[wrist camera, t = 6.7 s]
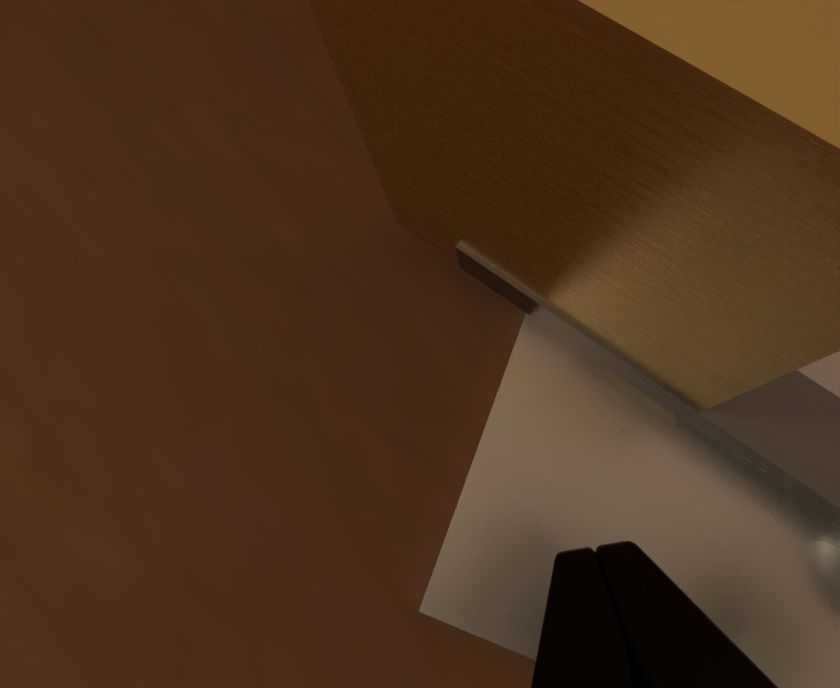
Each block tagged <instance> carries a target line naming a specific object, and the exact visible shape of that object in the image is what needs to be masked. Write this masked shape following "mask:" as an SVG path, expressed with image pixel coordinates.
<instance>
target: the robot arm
mask: <svg viewBox="0 0 840 688" xmlns="http://www.w3.org/2000/svg"><path fill="white" fill-rule="evenodd" d="M531 688H778V687H777V686H776V685H775V684H774V683H773V682H772V681H771V680H770V679H769V678H768V677H767V676H766V675H765V674H764V673H763V672H762V671H761V670H760V669H759V668H758V666H757V665H756V664H755V663H754V662H753V661H752V660H751V659H750V658H749V657H748V656H747V655H746V654H745V653H744V652H743V651H742V650H741V649H740V648H739V647H738V646H737V645H736V644H735V643H734V642H733V641H732V640H731V639H730V638H729V637H728V636H727V635H726V634H725V633H724V632H723V631H722V630H721V629H720V628H719V627H718V626H717V625H716V624H715V623H714V622H713V621H712V620H711V619H710V618H709V617H708V616H707V615H706V614H705V613H704V612H703V611H702V610H701V609H700V608H699V607H698V606H697V605H696V604H695V603H694V602H693V601H692V600H691V599H690V598H689V597H688V596H687V595H686V594H685V593H684V592H683V591H682V590H681V589H680V588H679V587H678V586H677V585H676V584H675V583H674V582H673V581H672V580H671V579H670V578H669V577H668V576H667V574H666V573H665V572H664V571H663V570H662V569H661V568H660V567H659V566H658V565H657V564H656V563H655V562H654V561H653V560H652V559H651V558H650V557H649V556H648V555H647V554H646V553H645V552H644V551H643V550H642V549H641V548H640V547H639V546H638V545H636V544H635V543H634V542H631V541H621V542H615V543H609V544H602V545H599V546H598V547H597V548H596V550H595V551H594V550H593V549H592V548H590V547H584V548H577V549H571V550H565V551H560V552H559V553H557V555H556V557H555V560H554V565H553V571H552V576H551V582H550V587H549V593H548V598H547V603H546V609H545V614H544V620H543V625H542V631H541V636H540V641H539V647H538V652H537V658H536V663H535V669H534V674H533V679H532V685H531Z"/></svg>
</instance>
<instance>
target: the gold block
mask: <svg viewBox="0 0 840 688" xmlns="http://www.w3.org/2000/svg"><path fill="white" fill-rule="evenodd" d="M308 2H309V4H310V7H311V9H312V12H313V14H314V17H315V20H316V22H317V25H318V27H319V30H320V32H321V35H322V37H323V40H324V42H325V45H326V47H327V50H328V52H329V55H330V57H331V60H332V62H333V65H334V67H335V70H336V72H337V75H338V77H339V80H340V82H341V85H342V87H343V90H344V92H345V95H346V97H347V100H348V102H349V105H350V107H351V110H352V112H353V115H354V117H355V120H356V122H357V125H358V127H359V130H360V132H361V135H362V137H363V140H364V142H365V145H366V147H367V150H368V152H369V155H370V157H371V160H372V162H373V165H374V167H375V170H376V172H377V175H378V177H379V180H380V183H381V185H382V188H383V190H384V193H385V195H386V198H387V200H388V203H389V205H390V208H391V210H392V213H393V215H394V218H395V220H396V222H397V223H399V224H400V225H402V226H403V227H404V228H406V229H407V230H409V231H410V232H412V233H413V234H415V235H416V236H418V237H419V238H420V239H422V240H423V241H425V242H426V243H428V244H429V245H431V246H432V247H434V248H435V249H436V250H438V251H439V252H441V253H442V254H444V255H445V256H447V257H448V258H450V259H451V260H452V261H454V262H455V263H457V264H458V265H459V267H460V268H462V269H463V270H465V271H466V272H467V273H469V274H470V275H472V276H473V277H475V278H476V279H478V280H479V281H481V282H482V283H483V284H485V285H486V286H488V287H489V288H491V289H492V290H494V291H495V292H497V293H498V294H499V295H501V296H502V297H504V298H505V299H507V300H508V301H510V302H511V303H513V304H514V305H515V306H517V307H518V308H520V309H521V310H523V311H524V312H526V313H527V314H529V315H530V316H531V317H533V318H534V319H536V320H537V321H539V322H540V323H542V324H543V325H545V326H546V327H547V328H549V329H550V330H552V331H553V332H555V333H556V334H558V335H559V336H561V337H562V338H563V339H565V340H566V341H568V342H569V343H571V344H572V345H574V346H575V347H577V348H578V349H579V350H581V351H582V352H584V353H585V354H587V355H588V356H590V357H591V358H593V359H594V360H595V361H597V362H598V363H600V364H601V365H603V366H604V367H606V368H607V369H609V370H610V371H611V372H613V373H614V374H616V375H617V376H619V377H620V378H622V379H623V380H625V381H626V382H627V383H629V384H630V385H632V386H633V387H635V388H636V389H638V390H639V391H641V392H642V393H643V394H645V395H646V396H648V397H649V398H651V399H652V400H654V401H655V402H657V403H658V404H659V405H661V406H662V407H664V408H665V409H667V410H668V411H670V412H671V413H673V414H674V415H675V416H677V417H678V418H680V419H681V420H683V421H684V422H686V423H687V424H689V425H690V426H691V427H693V428H694V429H696V430H697V431H699V432H700V433H702V434H703V435H705V436H706V437H707V438H709V439H710V440H712V441H713V442H715V443H716V444H718V445H719V446H721V447H722V448H723V449H725V450H726V451H728V452H729V453H731V454H732V455H734V456H735V457H737V458H738V459H739V460H741V461H742V462H744V463H745V464H747V465H748V466H750V467H751V468H753V469H754V470H755V471H757V472H758V473H760V474H761V475H763V476H764V477H766V478H767V479H769V480H770V481H771V482H773V483H774V484H776V485H777V486H779V487H780V488H782V489H783V490H785V491H786V492H787V493H789V494H790V495H792V496H793V497H795V498H796V499H798V500H799V501H801V502H802V503H803V504H805V505H806V506H808V507H809V508H811V509H812V510H814V511H815V512H817V513H818V514H819V515H821V516H822V517H824V518H825V519H827V520H828V521H830V522H831V523H833V524H834V525H835V526H837V527H838V528H840V397H838V396H836V395H835V394H833V393H832V392H830V391H829V390H827V389H826V388H824V387H822V386H821V385H819V384H818V383H816V382H815V381H813V380H812V379H810V378H809V377H807V376H805V375H804V374H802V373H801V372H799V371H798V369H800V368H802V367H804V366H807V365H809V364H811V363H813V362H816V361H818V360H820V359H823V358H825V357H827V356H829V355H832V354H834V353H836V352H839V351H840V0H308Z"/></svg>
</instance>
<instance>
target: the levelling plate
mask: <svg viewBox="0 0 840 688" xmlns="http://www.w3.org/2000/svg"><path fill="white" fill-rule="evenodd" d="M798 371H799V372H801V373H802V374H804V375H805V376H807V377H809V378H810V379H812V380H813V381H815V382H816V383H818V384H819V385H821V386H822V387H824V388H826V389H827V390H829V391H830V392H832V393H833V394H835V395H836V396H838V397H840V351H839V352H836V353H834V354H832V355H829V356H827V357H825V358H823V359H820V360H818V361H816V362H813V363H811V364H809V365H807V366H804V367H802V368H800V369H798ZM621 541H631V542H634V543H635V544H636V545H638V546H639V547H640V548H641V549H642V550H643V551H644V552H645V553H646V554H647V555H648V556H649V557H650V558H651V559H652V560H653V561H654V562H655V563H656V564H657V565H658V566H659V567H660V568H661V569H662V570H663V571H664V572H665V573H666V574H667V576H668V577H669V578H670V579H671V580H672V581H673V582H674V583H675V584H676V585H677V586H678V587H679V588H680V589H681V590H682V591H683V592H684V593H685V594H686V595H687V596H688V597H689V598H690V599H691V600H692V601H693V602H694V603H695V604H696V605H697V606H698V607H699V608H700V609H701V610H702V611H703V612H704V613H705V614H706V615H707V616H708V617H709V618H710V619H711V620H712V621H713V622H714V623H715V624H716V625H717V626H718V627H719V628H720V629H721V630H722V631H723V632H724V633H725V634H726V635H727V636H728V637H729V638H730V639H731V640H732V641H733V642H734V643H735V644H736V645H737V646H738V647H739V648H740V649H741V650H742V651H743V652H744V653H745V654H746V655H747V656H748V657H749V658H750V659H751V660H752V661H753V662H754V663H755V664H756V665H757V666H758V668H759V669H760V670H761V671H762V672H763V673H764V674H765V675H766V676H767V677H768V678H769V679H770V680H771V681H772V682H773V683H774V684H775V685H776V686H777V687H778V688H840V528H838V527H837V526H835V525H834V524H833V523H831V522H830V521H828V520H827V519H825V518H824V517H822V516H821V515H819V514H818V513H817V512H815V511H814V510H812V509H811V508H809V507H808V506H806V505H805V504H803V503H802V502H801V501H799V500H798V499H796V498H795V497H793V496H792V495H790V494H789V493H787V492H786V491H785V490H783V489H782V488H780V487H779V486H777V485H776V484H774V483H773V482H771V481H770V480H769V479H767V478H766V477H764V476H763V475H761V474H760V473H758V472H757V471H755V470H754V469H753V468H751V467H750V466H748V465H747V464H745V463H744V462H742V461H741V460H739V459H738V458H737V457H735V456H734V455H732V454H731V453H729V452H728V451H726V450H725V449H723V448H722V447H721V446H719V445H718V444H716V443H715V442H713V441H712V440H710V439H709V438H707V437H706V436H705V435H703V434H702V433H700V432H699V431H697V430H696V429H694V428H693V427H691V426H690V425H689V424H687V423H686V422H684V421H683V420H681V419H680V418H678V417H677V416H675V415H674V414H673V413H671V412H670V411H668V410H667V409H665V408H664V407H662V406H661V405H659V404H658V403H657V402H655V401H654V400H652V399H651V398H649V397H648V396H646V395H645V394H643V393H642V392H641V391H639V390H638V389H636V388H635V387H633V386H632V385H630V384H629V383H627V382H626V381H625V380H623V379H622V378H620V377H619V376H617V375H616V374H614V373H613V372H611V371H610V370H609V369H607V368H606V367H604V366H603V365H601V364H600V363H598V362H597V361H595V360H594V359H593V358H591V357H590V356H588V355H587V354H585V353H584V352H582V351H581V350H579V349H578V348H577V347H575V346H574V345H572V344H571V343H569V342H568V341H566V340H565V339H563V338H562V337H561V336H559V335H558V334H556V333H555V332H553V331H552V330H550V329H549V328H547V327H546V326H545V325H543V324H542V323H540V322H539V321H537V320H536V319H534V318H533V317H531V316H530V315H529V314H527V313H526V315H525V318H524V321H523V323H522V326H521V329H520V332H519V334H518V337H517V340H516V343H515V346H514V348H513V351H512V354H511V357H510V359H509V362H508V365H507V368H506V371H505V373H504V376H503V379H502V382H501V385H500V387H499V390H498V393H497V396H496V398H495V401H494V404H493V407H492V410H491V412H490V415H489V418H488V421H487V423H486V426H485V429H484V432H483V435H482V437H481V440H480V443H479V446H478V448H477V451H476V454H475V457H474V460H473V462H472V465H471V468H470V471H469V473H468V476H467V479H466V482H465V485H464V487H463V490H462V493H461V496H460V499H459V501H458V504H457V507H456V510H455V512H454V515H453V518H452V521H451V524H450V526H449V529H448V532H447V535H446V537H445V540H444V543H443V546H442V549H441V551H440V554H439V557H438V560H437V562H436V565H435V568H434V571H433V574H432V576H431V579H430V582H429V585H428V588H427V590H426V593H425V596H424V599H423V601H422V604H421V607H420V610H419V612H421V613H424V614H426V615H428V616H431V617H433V618H436V619H438V620H440V621H443V622H445V623H447V624H450V625H452V626H455V627H457V628H459V629H462V630H464V631H467V632H469V633H471V634H474V635H476V636H479V637H481V638H483V639H486V640H488V641H490V642H493V643H495V644H498V645H500V646H502V647H505V648H507V649H510V650H512V651H514V652H517V653H519V654H521V655H524V656H526V657H529V658H531V659H533V660H536V658H537V652H538V647H539V641H540V636H541V631H542V625H543V620H544V614H545V609H546V603H547V598H548V593H549V587H550V582H551V576H552V571H553V565H554V560H555V557H556V555H557V553H559V552H560V551H565V550H571V549H577V548H584V547H590V548H592V549H593V550H594V551H595V550H596V548H597V547H598V546H599V545H602V544H609V543H615V542H621Z"/></svg>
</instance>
